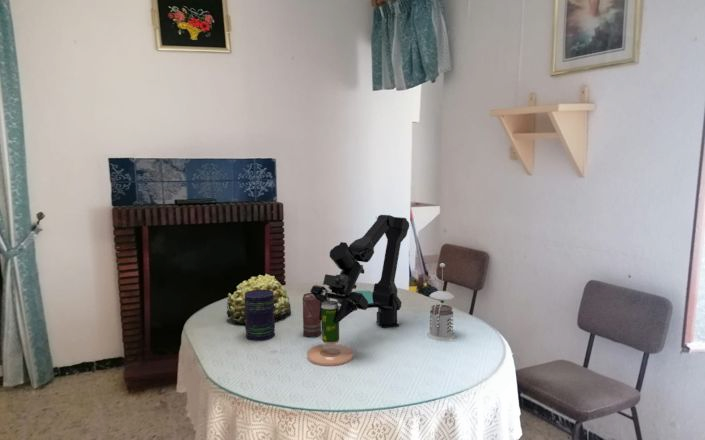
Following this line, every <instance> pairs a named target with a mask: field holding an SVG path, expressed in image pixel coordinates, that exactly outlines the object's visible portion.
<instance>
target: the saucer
mask: <svg viewBox="0 0 705 440" xmlns="http://www.w3.org/2000/svg"><path fill="white" fill-rule="evenodd" d="M306 355H307V357H306V359H307V361H308V362H310V363H312V364H314V365H317V366H321V367H322V366H323V367H335V366H342V365H345V364H347V363H349V362H350V361H352V360H353V358H354V350H353V349H352V348H351V347H349V346H346V345H344V344H338V343H336V344H325V343H323V344H319V345H315V346H313V347H311V348H309V349H308V351H307V354H306Z"/></svg>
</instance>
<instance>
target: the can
mask: <svg viewBox="0 0 705 440" xmlns="http://www.w3.org/2000/svg"><path fill="white" fill-rule="evenodd" d="M319 313H320V301H319V300H317V299H316V298H315V297H314V295H313V294H312V293H311V292H307V293H304V294H303V296H302V327H303V329H302V330H303V331H302V332H303V336H305V337H307V338H317V337H319V336H320V335H322V328H321V320H319Z"/></svg>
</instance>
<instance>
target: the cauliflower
mask: <svg viewBox="0 0 705 440" xmlns="http://www.w3.org/2000/svg"><path fill="white" fill-rule="evenodd" d="M260 289H264V290H271V291H273V292H274V295H273V296H274V309H273V314H274V321H275V323H276V322H277V321H278V320H279V321H280V320H282V319H283V318H285V319H286V318H287V317H288V316H290V315H291V314H292V310H291V308H292V307H291V303H290V297H289V296H288V294H287V292H288V289H286V288H285V287H284V286H283V285H282V284H281V282H279V281H278V280H277V279H276V278H275V275H270V274H267V273H265V275H261V274H259V275H258V276H251V277H250V278H249V279H248V280H243V281H242V282H240V283H239V284H238V285H237V286H236V291H234V292H233V294H232V293H230V292H229V293H227V297H226V300H227V302H226V304H227V305H226V309H227V310H226V314H227V315H226V316H227V317H229V320H230V321H231V322H232V323H235V324H236V323H238V324H245V322H246V311H245V293H246V292H248V291H252V290H260Z"/></svg>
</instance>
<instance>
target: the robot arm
mask: <svg viewBox="0 0 705 440" xmlns="http://www.w3.org/2000/svg"><path fill="white" fill-rule="evenodd" d="M409 229H410V222H409V220H408V219H407V218H406V217H399V216H398V217H397V216H393V215H390V214H380V215H378V216H377V217H376V221H374V223H373V224H372V225H371V227H370V228H369V229H368V230H367V232H366V233H365V234H364V235H363V236H362V237H360V238H358V239H355V240H354V241H352V243H350V244H349V245H348V243H347V242H343V241H340V242H339V244H338V245H336V246H334V247H333V248H331V249H330V251H329V258H330V259H331V260H332V262H333V263H334V264H335V266H337V268H338V269H339V270H341V271H340V273H339V274H335V275H332V274H328V273H326V274H324V277H323V281H322V285H317V284H315V285H313V286H312V287H311V289H310V290H309V293H312V294H313V295H314V297H315V298H316V299H317V300H319V301H320V313H319V320H321V306H322V302H324V301H331V299H332V300H336V301H337V300H342V301H341V302H340V304H341V305H340V306H341V307H340V308H339V311H338V313H337V316H336V318H335V321H334V323H335V324H337V323H338V322H339V323H340V322H342V320H343V319H344V318H345V317H347V316H348V315H350V314H351V313H353V312H355V311H358V310H361V311H362V310H363V311H366V310H367V309H368V306H369V305H368V301H367V299H366V298H365V297H364V296H363V294H362V293H356V292H354V291H353V289H354V290H357V285H356V283H357V281H358V279H359V277H360V274H364V275H365V268H364V265H363V264H361V263H368V262H369V261H371V259H372V257H373V255H374V253H375V247H376V245H377V244H378V242H379V241H380V240H381V239H382V237H383V236H384V235H385V238H386V241H387V242H386V248H385V252H384V259H383V264H382V269H381V276H380V279H379V280H378V282H377V283H376V282H375V283H374V285H373V289H372V290H373V291H372V292H373V293H372V299H373V303H374V305H373V307H374V308H377V312H376V322H375V323H376V324H377V325H379V326H380V327H381V328H383V329H384V328H385V329H386V328H393V327H399V326H400V324H399V323H398V311H400V310H401V308H402V304H403V303H402V301H401V298H399V296H398V288H397V285H396V283H395V281H396V280H395V279H396V274H397V268H398V262H399V258H400V257H399V255H400V249H401V245H402V242H403V241H404V239H405V238H406V237H407V234H408V231H409ZM360 262H361V263H360ZM323 285H324V286H323ZM325 286H327V287H328V289H329V290H331V291H328V289H327V288H326V287H325Z"/></svg>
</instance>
